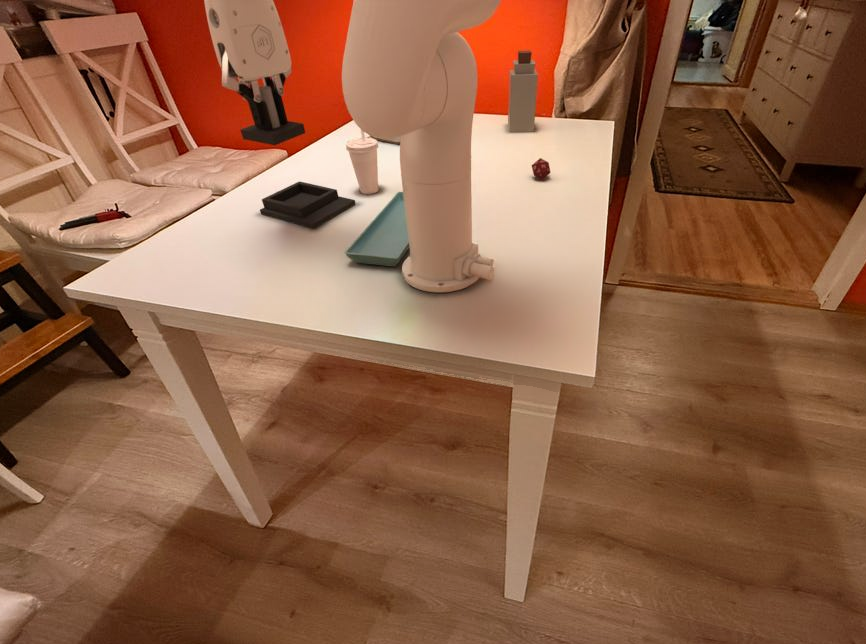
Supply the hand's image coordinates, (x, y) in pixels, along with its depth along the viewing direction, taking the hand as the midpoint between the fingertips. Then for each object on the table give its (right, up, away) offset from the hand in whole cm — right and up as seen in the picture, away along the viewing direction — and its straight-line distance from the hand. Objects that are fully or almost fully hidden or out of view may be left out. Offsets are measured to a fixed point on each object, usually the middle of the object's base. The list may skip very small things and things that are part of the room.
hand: (271, 124), depth 74 cm
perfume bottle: (+47, +26, +54) cm, 76 cm away
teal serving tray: (+19, -15, +9) cm, 26 cm away
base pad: (0, -8, +17) cm, 19 cm away
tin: (+11, +20, +48) cm, 53 cm away
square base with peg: (0, -1, +1) cm, 2 cm away
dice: (+48, +1, +26) cm, 55 cm away
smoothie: (+11, -2, +24) cm, 26 cm away
